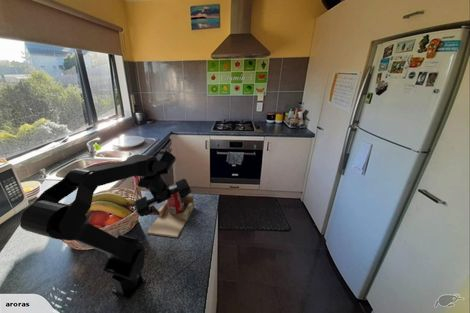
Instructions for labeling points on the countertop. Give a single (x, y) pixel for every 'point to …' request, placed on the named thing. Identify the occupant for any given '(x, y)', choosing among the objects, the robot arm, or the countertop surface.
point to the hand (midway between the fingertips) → (170, 208)
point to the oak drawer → (171, 219)
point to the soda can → (175, 203)
